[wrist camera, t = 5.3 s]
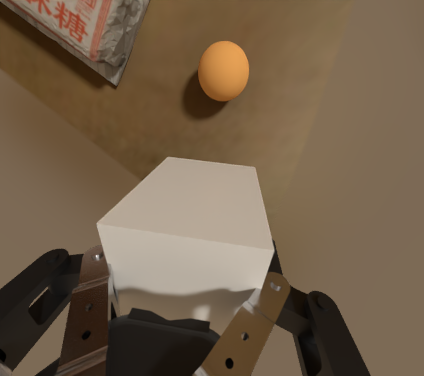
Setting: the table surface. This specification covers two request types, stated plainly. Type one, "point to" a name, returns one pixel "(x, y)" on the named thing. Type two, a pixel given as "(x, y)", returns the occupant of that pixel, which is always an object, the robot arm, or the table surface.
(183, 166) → the white foam cube
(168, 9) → the table surface
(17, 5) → the packaged product
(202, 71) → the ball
